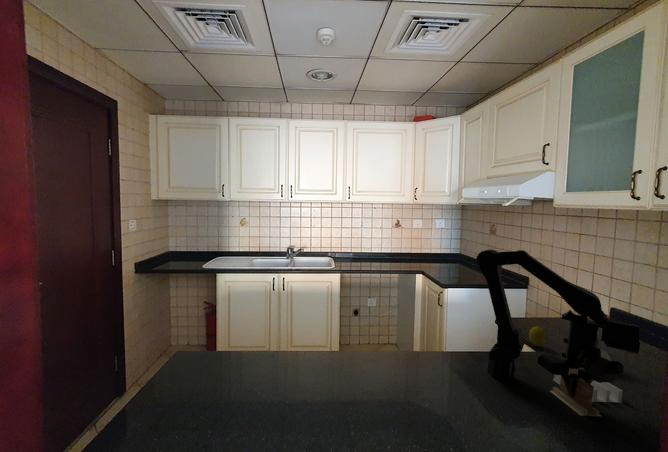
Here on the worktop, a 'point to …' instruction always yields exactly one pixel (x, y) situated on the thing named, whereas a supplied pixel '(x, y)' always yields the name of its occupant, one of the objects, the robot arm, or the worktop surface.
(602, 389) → the rack
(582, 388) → the board
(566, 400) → the stand
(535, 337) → the lemon
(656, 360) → the worktop surface
